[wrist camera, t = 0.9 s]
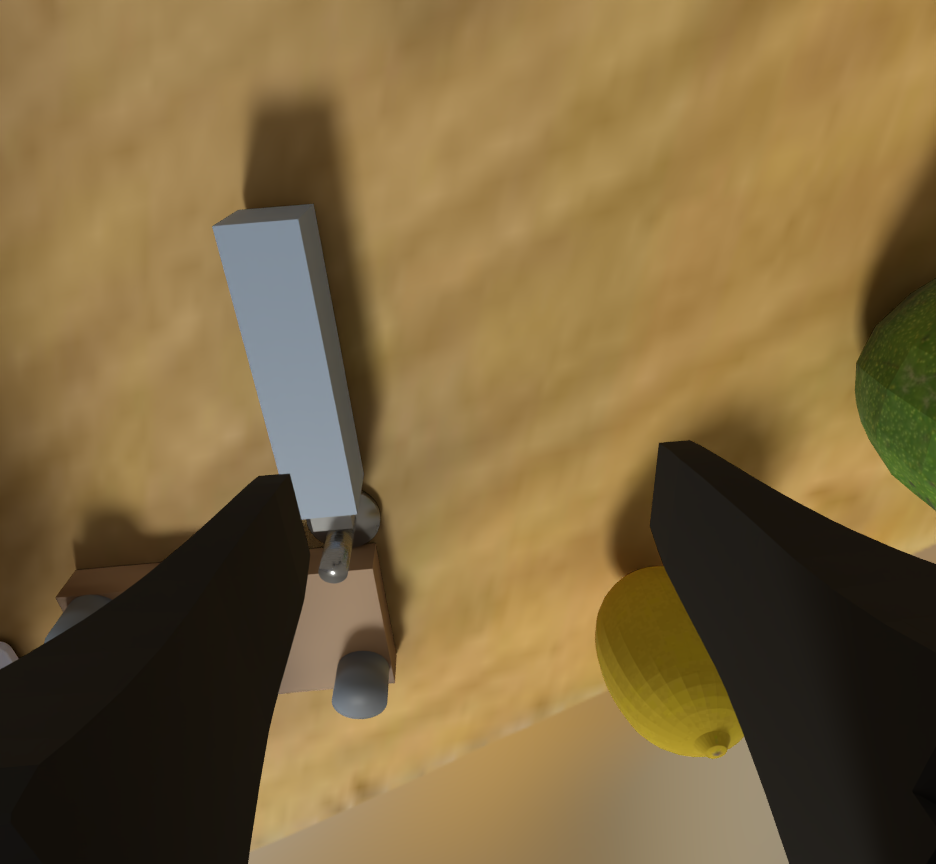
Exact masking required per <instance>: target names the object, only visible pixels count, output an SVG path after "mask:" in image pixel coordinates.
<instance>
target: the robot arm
mask: <svg viewBox="0 0 936 864" xmlns="http://www.w3.org/2000/svg"><path fill="white" fill-rule="evenodd" d="M650 528H651V531H652V534H653V537H654V540H655V543H656V546H657V549H658V552H659V554H660V557H661V560H662V563H663V565H664V568H665V570H666V572H667V574H668V576H669V578H670V580H671V582H672V584H673V586H674V588H675V590H676V592H677V594H678V596H679V598H680V600H681V602H682V604H683V606H684V608H685V610H686V612H687V614H688V615H689V617H690V619H691V621H692V623H693V625H694V627H695V629H696V631H697V633H698V635H699V637H700V638H701V640H702V642H703V644H704V646H705V648H706V650H707V652H708V654H709V656H710V658H711V660H712V662H713V663H714V665H715V667H716V670H717V672H718V674H719V676H720V678H721V680H722V682H723V685H724V687H725V689H726V691H727V694H728V696H729V699H730V701H731V704H732V707H733V709H734V712H735V714H736V717H737V719H738V722H739V724H740V727H741V729H742V732H743V734H744V737H745V740H746V742H747V745H748V748H749V750H750V753H751V756H752V758H753V761H754V764H755V766H756V769H757V772H758V775H759V778H760V780H761V783H762V786H763V788H764V791H765V794H766V797H767V799H768V803H769V806H770V808H771V811H772V814H773V817H774V820H775V823H776V826H777V829H778V832H779V835H780V838H781V840H782V844H783V847H784V850H785V852H786V855H787V858H788V861H789V864H936V564H934V563H931V562H928V561H926V560H923V559H920V558H917V557H915V556H912V555H910V554H907V553H905V552H902V551H900V550H897V549H895V548H892V547H890V546H888V545H885V544H883V543H881V542H879V541H876V540H874V539H872V538H869V537H867V536H865V535H863V534H860V533H858V532H856V531H853V530H851V529H849V528H847V527H845V526H843V525H841V524H839V523H836V522H834V521H832V520H830V519H828V518H826V517H825V516H823V515H821V514H819V513H817V512H815V511H813V510H811V509H809V508H807V507H805V506H803V505H801V504H800V503H798V502H796V501H794V500H792V499H790V498H789V497H787V496H785V495H783V494H781V493H780V492H778V491H776V490H774V489H773V488H771V487H769V486H768V485H766V484H764V483H762V482H761V481H759V480H757V479H756V478H754V477H752V476H751V475H749V474H747V473H746V472H744V471H742V470H741V469H739V468H737V467H736V466H734V465H732V464H731V463H729V462H727V461H726V460H724V459H722V458H721V457H719V456H717V455H716V454H714V453H712V452H711V451H709V450H707V449H706V448H704V447H702V446H700V445H698V444H696V443H694V442H692V441H690V440H688V441H676V442H664V443H659V448H658V457H657V466H656V475H655V484H654V493H653V502H652V511H651V520H650ZM309 562H310V551H309V547H308V543H307V539H306V535H305V531H304V527H303V523H302V519H301V515H300V511H299V507H298V503H297V500H296V496H295V492H294V488H293V484H292V480H291V476H290V474H277V475H265V476H258V477H257V478H256V479H254V480H253V481H252V482H251V483H250V484H248V485H247V486H246V487H245V488H244V489H243V490H242V491H241V492H240V493H239V494H238V495H236V496H235V497H234V498H233V499H232V500H231V501H230V502H229V503H228V504H227V505H226V506H225V507H224V508H223V509H221V510H220V511H219V512H218V513H217V514H216V515H215V516H214V517H213V518H212V519H211V520H210V521H208V522H207V523H206V524H205V525H204V526H203V527H202V528H201V529H200V530H199V531H197V532H196V533H195V534H194V535H193V536H192V537H191V538H190V539H189V540H187V541H186V542H185V543H184V544H183V545H181V546H180V547H179V548H178V549H177V550H175V551H174V552H173V553H172V554H171V555H169V556H168V557H167V558H166V559H165V560H163V561H162V562H161V563H160V564H159V565H157V566H156V567H155V568H154V569H153V570H151V571H150V572H149V573H148V574H147V575H145V576H144V577H143V578H141V579H140V580H139V581H137V582H136V583H135V584H133V585H132V586H131V587H129V588H128V589H127V590H125V591H124V592H123V593H121V594H120V595H118V596H117V597H116V598H114V599H113V600H111V601H110V602H108V603H107V604H106V605H104V606H103V607H101V608H100V609H99V610H97V611H96V612H94V613H93V614H91V615H90V616H88V617H87V618H85V619H84V620H82V621H80V622H79V623H77V624H75V625H74V626H72V627H71V628H69V629H67V630H66V631H64V632H62V633H61V634H59V635H58V636H56V637H54V638H53V639H51V640H49V641H48V642H46V643H45V644H43V645H41V646H40V647H38V648H36V649H35V650H33V651H32V652H30V653H28V654H27V655H25V656H23V657H21V658H20V659H19V658H18V657H17V655H16V654H15V652H14V651H13V649H12V648H11V646H10V645H8V644H7V643H4V642H1V641H0V864H248V860H249V852H250V845H251V838H252V831H253V825H254V818H255V812H256V805H257V799H258V792H259V786H260V780H261V774H262V768H263V762H264V757H265V751H266V745H267V739H268V733H269V728H270V724H271V720H272V716H273V711H274V707H275V703H276V700H277V696H278V693H279V689H280V686H281V682H282V679H283V675H284V672H285V668H286V665H287V661H288V658H289V654H290V651H291V647H292V643H293V640H294V636H295V633H296V629H297V625H298V622H299V618H300V615H301V611H302V607H303V603H304V599H305V592H306V585H307V578H308V570H309Z"/></svg>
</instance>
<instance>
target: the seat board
mask: <svg viewBox="0 0 936 864" xmlns="http://www.w3.org/2000/svg"><path fill="white" fill-rule="evenodd" d="M309 551H310V562H309V570H308V578H307V585H306V592H305V599H304V603H303V607H302V611H301V615H300V618H299V622H298V625H297V629H296V633H295V636H294V640H293V643H292V647H291V651H290V654H289V658H288V661H287V665H286V668H285V672H284V675H283V679H282V682H281V686H280V689H279V693H278V694H283V693H294V692H304V691H315V690H326V689H334V691H333V697H332V705H333V707H334V709H335V710H336V711H337V712H338V713H340V714H341V715H343V716H346V717H349V718H353V719H367V718H371V717H374V716H376V715H378V714H380V713H381V712H382V711H383V710H384V709H385V708H386V705H387V697H388V684H389V683H395V672H396V650H395V644H394V639H393V634H392V628H391V623H390V618H389V612H388V607H387V602H386V596H385V591H384V586H383V580H382V575H381V569H380V564H379V559H378V553H377V548H376V543H370V544H364V545H361V546H359V547H355V548H352V552H351V558H350V564H349V570H348V576H347V578H346V579H345V580H344V581H342V582H340V583H334V584H333V583H328V582H325V581H324V580H322V579H321V578H320V576H319V574H318V570H319V566H320V561H321V557H322V553H323V548H315V549H309ZM159 564H160V563H150V564H139V565H128V566H117V567H106V568H95V569H84V570H75V572H74V573H73V574H72V576H71V577H70V579H69V580H68V581H67V583H66V584H65V585H64V587H63V588H62V589H61V591H60V592H59V594H58V595H57V596H56V600H57V602H58V603H59V605H60V607H61V609H62V610H63V614H62V615H61V617H60V618H59V619H58V621H57V622H56V624H55V625H54V627H53V628H52V629H51V631H50V632H49V634H48V635H47V637H46V638H45V642H44V644H45V643H46V642H48V641H49V640H51V639H53V638H54V637H56V636H58V635H59V634H61V633H62V632H64V631H66V630H67V629H69V628H71V627H72V626H74V625H75V624H77V623H79V622H80V621H82V620H84V619H85V618H87V617H88V616H90V615H91V614H93V613H94V612H96V611H97V610H99V609H100V608H101V607H103V606H104V605H106V604H107V603H108V602H110V601H111V600H113V599H114V598H116V597H117V596H118V595H120V594H121V593H123V592H124V591H125V590H127V589H128V588H129V587H131V586H132V585H133V584H135V583H136V582H137V581H139V580H140V579H141V578H143V577H144V576H145V575H147V574H148V573H149V572H150V571H151V570H153V569H154V568H155V567H156V566H157V565H159Z"/></svg>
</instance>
